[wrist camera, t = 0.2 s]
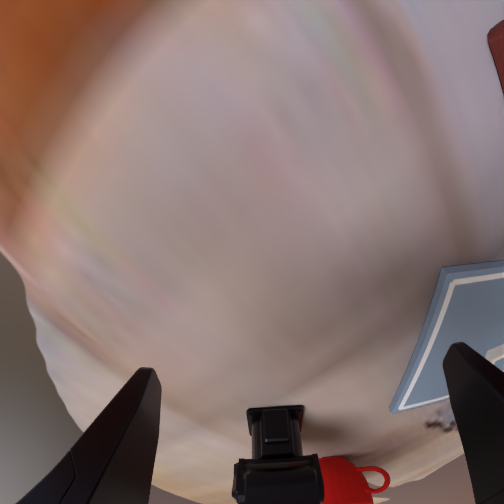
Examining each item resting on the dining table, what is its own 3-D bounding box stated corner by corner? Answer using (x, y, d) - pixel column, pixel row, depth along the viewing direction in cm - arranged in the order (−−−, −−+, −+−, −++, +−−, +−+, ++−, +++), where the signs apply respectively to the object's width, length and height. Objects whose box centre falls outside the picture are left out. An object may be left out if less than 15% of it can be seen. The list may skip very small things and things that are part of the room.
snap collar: (470, 387, 34) (474, 395, 32) (487, 350, 30) (492, 359, 28) (511, 368, 33) (515, 375, 32) (529, 331, 29) (535, 338, 28)
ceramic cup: (395, 446, 43) (408, 494, 35) (317, 479, 49) (322, 523, 40) (360, 430, 38) (373, 491, 30) (271, 467, 44) (274, 520, 36)
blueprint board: (507, 373, 35) (510, 378, 34) (389, 407, 36) (391, 414, 35) (567, 251, 24) (572, 256, 23) (441, 267, 24) (447, 274, 23)
